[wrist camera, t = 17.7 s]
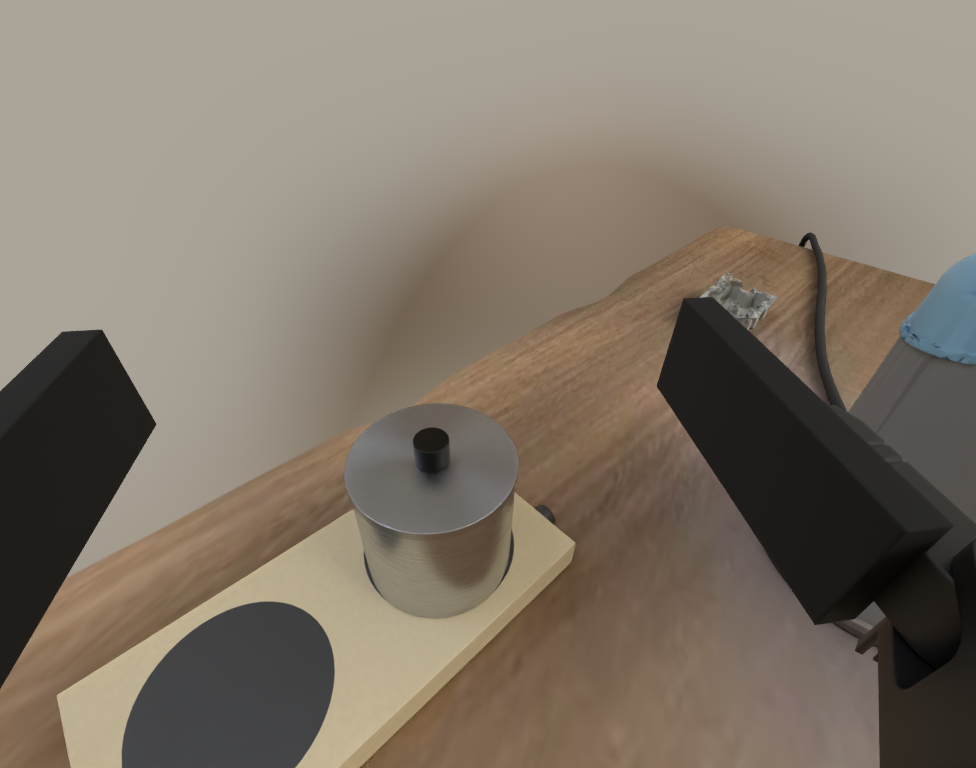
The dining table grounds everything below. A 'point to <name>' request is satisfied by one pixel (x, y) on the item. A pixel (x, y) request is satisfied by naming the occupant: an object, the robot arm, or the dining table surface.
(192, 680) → the hot plate
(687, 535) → the dining table surface
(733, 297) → the egg carton
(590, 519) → the dining table surface
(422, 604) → the pot
